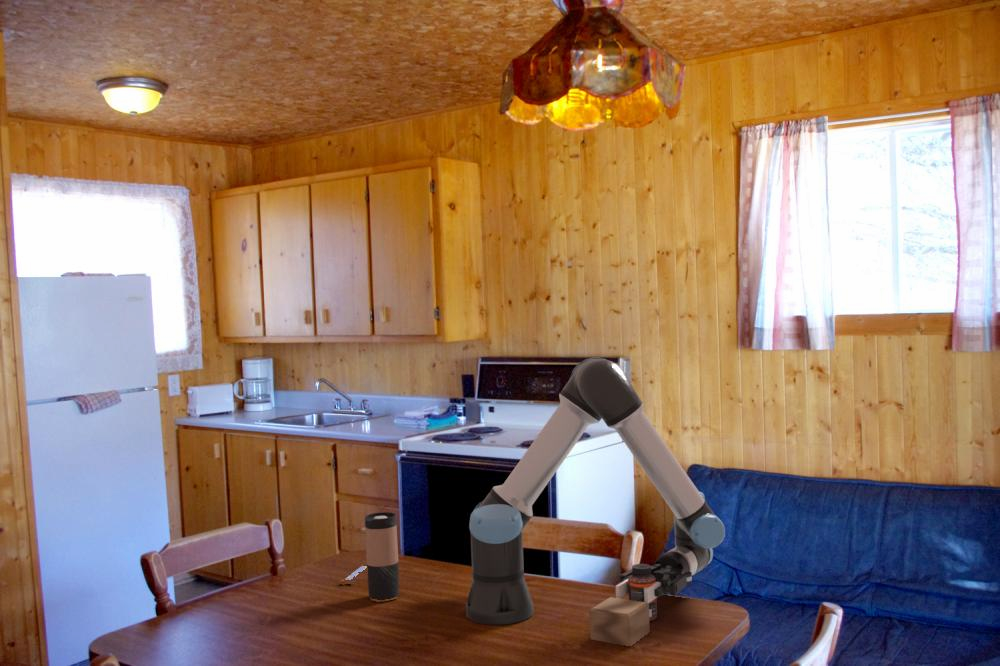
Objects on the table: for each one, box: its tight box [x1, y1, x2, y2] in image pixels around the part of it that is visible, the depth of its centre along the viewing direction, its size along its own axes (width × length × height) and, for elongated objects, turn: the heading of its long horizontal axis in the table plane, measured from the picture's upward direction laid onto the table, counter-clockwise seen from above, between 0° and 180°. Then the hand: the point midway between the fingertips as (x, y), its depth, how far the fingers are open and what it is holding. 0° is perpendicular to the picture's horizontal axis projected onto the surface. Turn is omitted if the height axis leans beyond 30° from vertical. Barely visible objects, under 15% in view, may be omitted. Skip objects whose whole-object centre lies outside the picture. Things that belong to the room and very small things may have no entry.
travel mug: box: [364, 511, 400, 600], centre depth 212 cm, size 8×8×20 cm
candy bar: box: [340, 565, 367, 581], centre depth 231 cm, size 17×4×2 cm, turn 166°
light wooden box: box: [588, 596, 651, 647], centre depth 179 cm, size 9×9×6 cm
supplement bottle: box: [628, 563, 658, 622], centre depth 188 cm, size 6×6×11 cm
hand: (631, 594), depth 184 cm, fingers closed on supplement bottle, 6 cm apart
